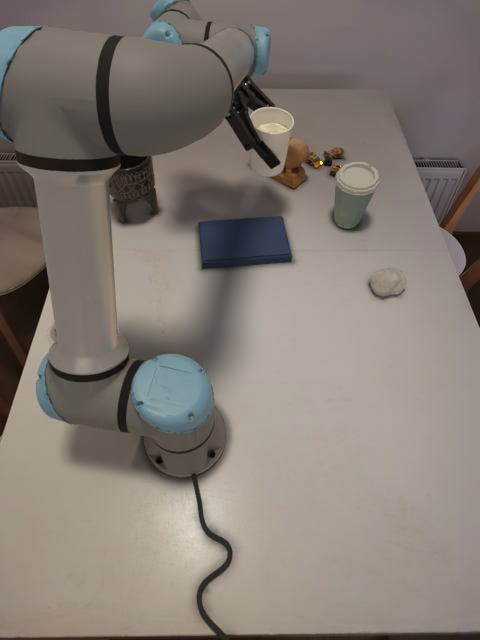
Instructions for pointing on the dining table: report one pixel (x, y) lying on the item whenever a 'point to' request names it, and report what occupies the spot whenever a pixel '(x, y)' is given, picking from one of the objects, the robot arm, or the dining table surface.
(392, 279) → the pebble
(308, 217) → the dining table surface
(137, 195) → the planter
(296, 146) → the sculpture
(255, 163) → the candle holder
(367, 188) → the disposable coffee cup
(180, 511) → the dining table surface
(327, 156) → the toy set
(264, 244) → the blue book
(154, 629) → the dining table surface
